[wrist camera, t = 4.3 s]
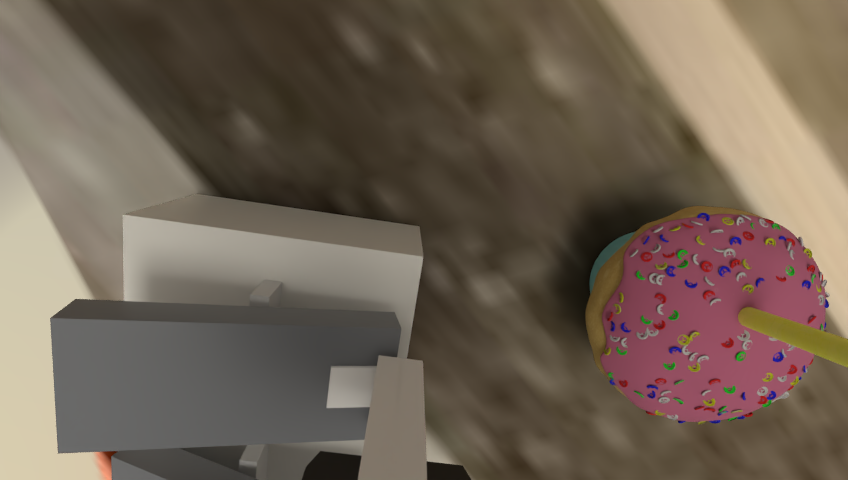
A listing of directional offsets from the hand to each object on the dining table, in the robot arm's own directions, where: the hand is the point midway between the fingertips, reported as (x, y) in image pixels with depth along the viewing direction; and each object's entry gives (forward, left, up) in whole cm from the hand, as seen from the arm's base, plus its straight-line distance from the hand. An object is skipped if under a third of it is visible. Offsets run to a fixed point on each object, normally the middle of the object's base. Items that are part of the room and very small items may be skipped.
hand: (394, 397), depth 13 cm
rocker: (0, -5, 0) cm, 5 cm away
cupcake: (-3, +11, -8) cm, 14 cm away
